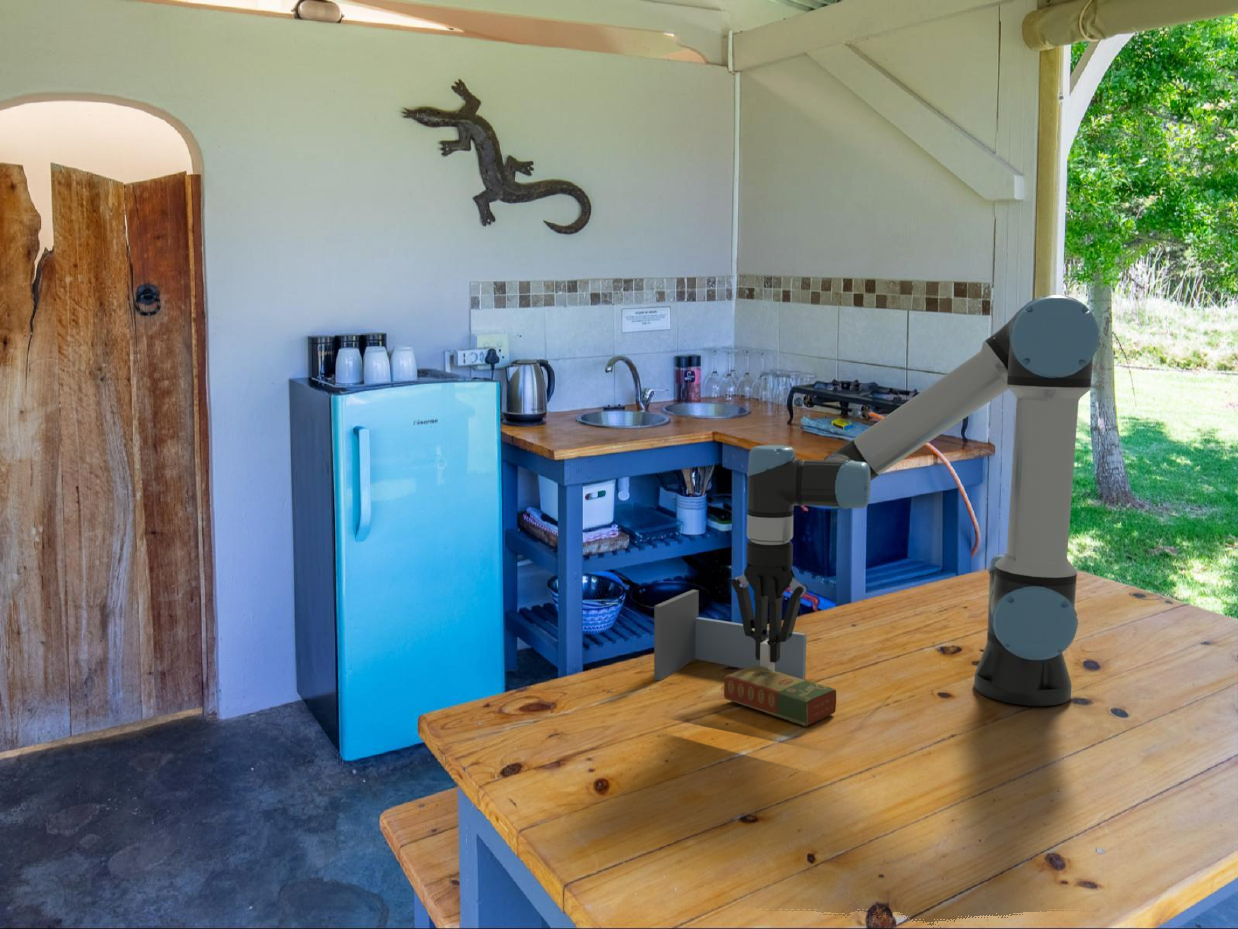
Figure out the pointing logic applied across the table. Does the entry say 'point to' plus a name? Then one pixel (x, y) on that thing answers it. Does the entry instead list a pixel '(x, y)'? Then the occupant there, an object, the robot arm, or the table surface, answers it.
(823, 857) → the table surface
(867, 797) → the table surface
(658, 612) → the grey perpendicular panels
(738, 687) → the carton
